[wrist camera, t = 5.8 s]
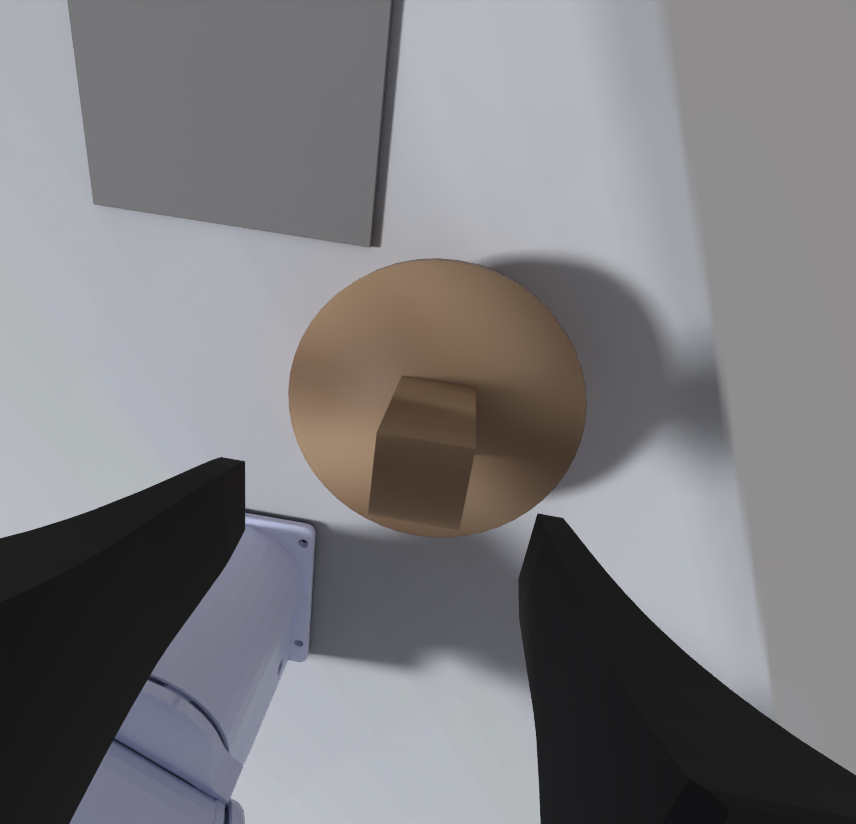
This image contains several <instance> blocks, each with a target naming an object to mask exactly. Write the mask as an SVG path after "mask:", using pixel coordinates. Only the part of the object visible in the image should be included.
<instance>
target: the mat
mask: <svg viewBox="0 0 856 824" xmlns="http://www.w3.org/2000/svg"><path fill="white" fill-rule="evenodd" d="M67 1H68V9H69V16H70V24H71V32H72V40H73V47H74V55H75V63H76V71H77V78H78V86H79V94H80V102H81V109H82V117H83V125H84V133H85V140H86V148H87V156H88V164H89V172H90V179H91V187H92V195H93V203H94V204H95V205H102V206H108V207H114V208H121V209H127V210H134V211H140V212H146V213H153V214H159V215H166V216H172V217H178V218H185V219H191V220H198V221H204V222H210V223H217V224H223V225H229V226H236V227H242V228H249V229H255V230H261V231H268V232H274V233H281V234H287V235H293V236H300V237H306V238H313V239H319V240H325V241H332V242H338V243H344V244H351V245H357V246H364V247H371V243H372V232H373V220H374V209H375V198H376V186H377V175H378V163H379V152H380V140H381V129H382V118H383V106H384V95H385V83H386V72H387V61H388V49H389V38H390V26H391V15H392V4H393V0H67Z"/></svg>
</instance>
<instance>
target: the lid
mask: <svg viewBox="0 0 856 824" xmlns="http://www.w3.org/2000/svg"><path fill="white" fill-rule="evenodd" d="M288 393H289V411H290V416H291V422H292V427H293V430H294V433H295V436H296V439H297V442H298V445H299V447H300V449H301V451H302V453H303V455H304V458H305V459H306V461H307V463H308V464H309V466H310V467H311V469H312V471H313V472H314V474H315V475H316V476H317V477H318V479H319V480H320V481H321V482H322V483H323V485H324V486H325V487H326V488H327V489H328V490H329V491H330V492H331V493H332V494H333V495H334V496H335V497H336V498H337V499H339V500H340V501H341V502H342V503H344V504H345V505H346V506H348V507H349V508H350V509H352V510H353V511H355V512H356V513H358V514H360V515H361V516H363V517H365V518H366V519H369V520H371V521H373V522H375V523H377V524H379V525H381V526H384V527H387V528H390V529H393V530H396V531H399V532H404V533H408V534H412V535H419V536H427V537H456V536H466V535H471V534H476V533H481V532H485V531H488V530H491V529H494V528H497V527H500V526H502V525H504V524H506V523H508V522H510V521H513V520H515V519H516V518H518V517H520V516H521V515H523V514H525V513H526V512H528V511H529V510H531V509H532V508H533V507H535V506H536V505H537V504H538V503H539V502H541V501H542V500H543V499H544V498H545V497H546V496H547V495H548V494H549V493H550V492H551V491H552V490H553V489H554V488H555V487H556V486H557V484H558V483H559V481H560V480H561V479H562V477H563V476H564V475H565V473H566V472H567V470H568V468H569V466H570V465H571V463H572V461H573V459H574V457H575V455H576V452H577V449H578V447H579V444H580V442H581V438H582V434H583V429H584V425H585V416H586V391H585V382H584V378H583V373H582V369H581V365H580V362H579V360H578V357H577V355H576V352H575V349H574V347H573V345H572V343H571V342H570V340H569V338H568V336H567V334H566V333H565V331H564V329H563V328H562V327H561V325H560V324H559V322H558V321H557V320H556V319H555V317H554V316H553V315H552V313H551V312H550V311H549V309H548V308H547V307H546V306H545V305H544V304H543V303H542V302H541V301H540V300H539V299H538V298H537V297H536V296H535V295H533V294H532V293H531V292H529V291H528V290H527V289H525V288H524V287H523V286H521V285H520V284H519V283H517V282H516V281H514V280H512V279H510V278H508V277H506V276H504V275H503V274H501V273H499V272H496V271H494V270H491V269H488V268H486V267H483V266H480V265H477V264H473V263H468V262H464V261H459V260H450V259H438V258H437V259H417V260H411V261H406V262H401V263H396V264H393V265H390V266H387V267H384V268H381V269H378V270H376V271H374V272H372V273H370V274H368V275H366V276H364V277H362V278H360V279H358V280H357V281H355V282H353V283H352V284H351V285H349V286H348V287H346V288H345V289H343V290H342V291H341V292H339V293H338V294H337V295H335V296H334V297H333V298H332V299H331V300H330V301H329V302H328V303H327V304H326V305H325V306H324V307H323V308H322V309H321V310H320V312H319V313H318V314H317V315H316V317H315V318H314V319H313V320H312V322H311V323H310V325H309V326H308V328H307V330H306V332H305V333H304V335H303V337H302V338H301V341H300V343H299V346H298V348H297V351H296V353H295V356H294V360H293V364H292V368H291V372H290V380H289V391H288Z"/></svg>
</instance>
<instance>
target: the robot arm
mask: <svg viewBox="0 0 856 824" xmlns="http://www.w3.org/2000/svg"><path fill="white" fill-rule="evenodd" d="M302 539H303V540H306V541H307V542H308V543H304V542H302V541H301V540H302ZM314 549H315V529H314V528H313V527H312V526H311V525H310V524H307V523H301V522H296V521H290V520H284V519H278V518H273V517H267V516H261V515H256V514H250V513H245V461H240V460H234V459H228V458H223V457H220V458H217V459H214V460H211V461H209V462H206V463H204V464H202V465H199V466H197V467H195V468H192V469H190V470H188V471H186V472H183V473H181V474H179V475H177V476H174V477H172V478H170V479H168V480H165V481H163V482H161V483H158V484H156V485H154V486H152V487H149V488H147V489H145V490H142V491H140V492H138V493H135V494H132V495H130V496H127V497H125V498H122V499H120V500H117V501H115V502H112V503H110V504H107V505H105V506H102V507H100V508H97V509H95V510H92V511H89V512H86V513H84V514H81V515H78V516H75V517H72V518H69V519H66V520H63V521H60V522H56V523H53V524H50V525H47V526H44V527H41V528H37V529H34V530H31V531H27V532H23V533H19V534H16V535H12V536H8V537H4V538H0V824H245V818H244V811H243V809H242V807H241V805H240V804H239V803H238V802H236V801H234V800H233V799H231V798H230V797H231V794H232V792H233V790H234V787H235V785H236V782H237V780H238V778H239V775H240V773H241V770H242V768H243V765H244V763H245V761H246V759H247V757H248V754H249V752H250V750H251V747H252V745H253V743H254V740H255V738H256V735H257V733H258V731H259V728H260V726H261V723H262V721H263V719H264V716H265V714H266V711H267V709H268V707H269V704H270V702H271V699H272V697H273V695H274V692H275V690H276V687H277V685H278V683H279V680H280V678H281V675H282V673H283V671H284V668H285V666H286V663H287V661H288V660H291V661H297V662H302V661H305V660H306V659H307V656H308V653H309V639H310V621H311V603H312V585H313V567H314ZM519 619H520V626H521V633H522V640H523V647H524V653H525V660H526V666H527V673H528V679H529V686H530V692H531V699H532V705H533V712H534V720H535V729H536V739H537V757H538V774H539V793H540V817H541V824H856V775H854V774H853V773H851V772H850V771H848V770H846V769H844V768H843V767H842V766H840V765H839V764H837V763H835V762H834V761H832V760H831V759H829V758H828V757H826V756H824V755H823V754H821V753H820V752H818V751H816V750H815V749H813V748H812V747H810V746H809V745H807V744H806V743H804V742H802V741H801V740H800V739H798V738H796V737H795V736H794V735H792V734H791V733H789V732H788V731H787V730H785V729H784V728H782V727H781V726H779V725H778V724H777V723H775V722H774V721H772V720H771V719H770V718H768V717H767V716H765V715H764V714H763V713H761V712H760V711H758V710H757V709H756V708H754V707H753V706H752V705H750V704H749V703H748V702H746V701H745V700H744V699H742V698H741V697H740V696H738V695H737V694H736V693H734V692H733V691H732V690H730V689H729V688H728V687H727V686H725V685H724V684H723V683H722V682H720V681H719V680H718V679H717V678H715V677H714V676H713V675H712V674H711V673H709V672H708V671H707V670H706V669H704V668H703V667H702V666H701V665H699V664H698V663H697V662H696V661H695V660H694V659H692V658H691V657H690V656H689V655H688V654H687V653H685V652H684V651H683V650H682V649H681V648H680V647H679V646H678V645H677V644H676V643H675V642H673V641H672V640H671V639H670V638H669V637H668V636H667V635H666V634H665V633H664V632H663V631H662V630H661V629H659V628H658V627H657V626H656V625H655V624H654V623H653V622H652V621H651V620H650V619H649V618H648V617H647V616H646V615H645V614H644V613H643V612H642V611H641V610H640V609H639V607H638V606H637V605H636V604H635V603H634V602H633V601H632V600H631V599H630V598H629V597H628V596H627V595H626V594H625V593H624V591H623V590H622V589H621V588H620V587H619V586H618V585H617V584H616V582H615V581H614V580H613V579H612V578H611V577H610V575H609V574H608V573H607V572H606V571H605V570H604V568H603V567H602V566H601V565H600V564H599V562H598V561H597V560H596V559H595V557H594V556H593V555H592V554H591V552H590V551H589V550H588V549H587V547H586V546H585V545H584V544H583V542H582V541H581V540H580V539H579V537H578V536H577V535H576V534H575V532H574V531H573V530H572V528H571V527H570V526H569V525H568V524H567V522H566V521H565V520H564V519H563V518H559V517H554V516H548V515H543V514H537V517H536V521H535V524H534V528H533V531H532V535H531V538H530V541H529V545H528V548H527V552H526V555H525V559H524V562H523V566H522V569H521V572H520V576H519ZM299 640H300V641H299Z"/></svg>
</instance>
